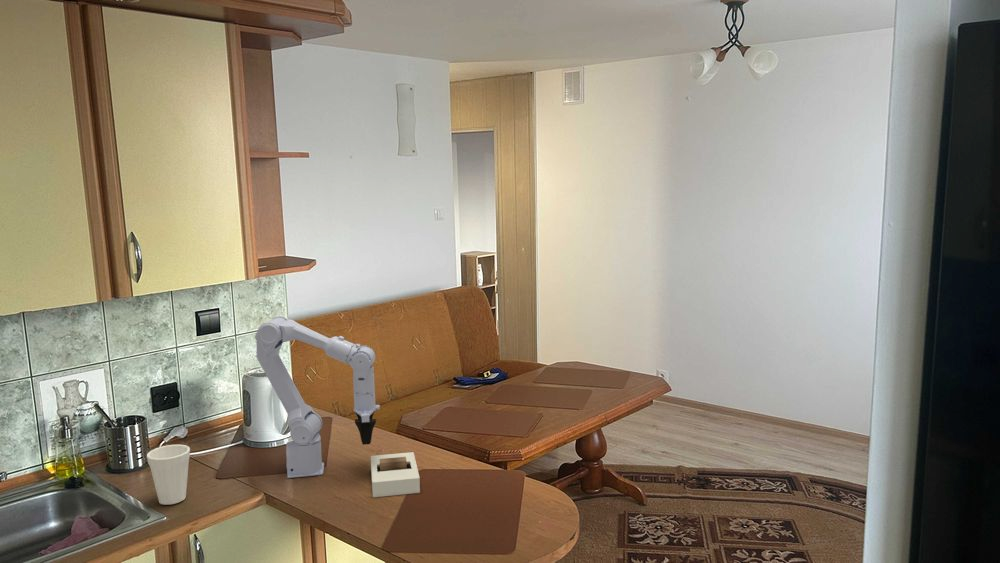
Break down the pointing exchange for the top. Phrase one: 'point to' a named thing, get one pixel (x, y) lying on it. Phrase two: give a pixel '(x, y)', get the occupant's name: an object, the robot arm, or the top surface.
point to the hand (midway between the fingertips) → (366, 438)
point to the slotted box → (395, 477)
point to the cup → (170, 472)
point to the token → (393, 464)
